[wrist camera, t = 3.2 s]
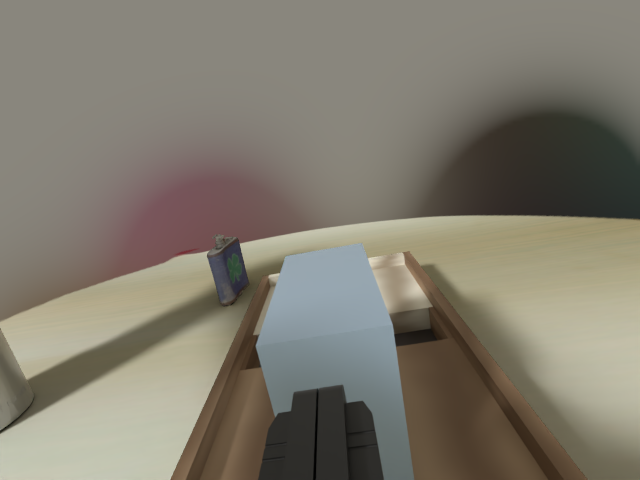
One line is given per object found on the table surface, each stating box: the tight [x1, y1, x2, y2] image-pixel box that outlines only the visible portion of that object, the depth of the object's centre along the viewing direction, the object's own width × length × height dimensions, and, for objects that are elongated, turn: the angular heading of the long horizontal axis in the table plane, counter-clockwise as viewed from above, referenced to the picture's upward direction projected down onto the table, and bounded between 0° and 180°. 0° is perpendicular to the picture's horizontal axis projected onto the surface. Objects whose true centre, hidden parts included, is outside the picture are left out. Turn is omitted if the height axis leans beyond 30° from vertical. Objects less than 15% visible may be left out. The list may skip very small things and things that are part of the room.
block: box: [256, 243, 414, 480], centre depth 22 cm, size 6×12×11 cm, turn 0°
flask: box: [207, 235, 249, 306], centre depth 56 cm, size 9×3×11 cm, turn 173°
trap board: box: [171, 251, 587, 480], centre depth 33 cm, size 22×36×4 cm, turn 0°
